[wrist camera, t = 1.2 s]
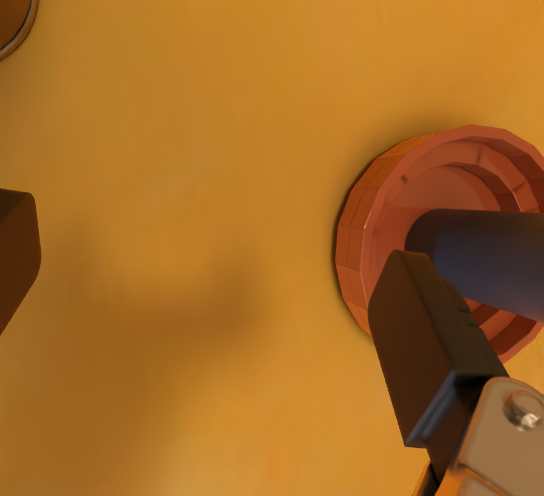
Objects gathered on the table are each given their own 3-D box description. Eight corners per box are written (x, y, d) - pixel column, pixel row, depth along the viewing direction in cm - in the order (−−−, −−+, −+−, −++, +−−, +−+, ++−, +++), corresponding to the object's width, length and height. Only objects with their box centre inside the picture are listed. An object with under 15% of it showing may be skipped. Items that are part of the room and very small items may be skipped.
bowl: (308, 163, 30) (336, 158, 25) (505, 114, 34) (558, 102, 29) (356, 382, 33) (388, 410, 28) (532, 314, 37) (583, 330, 32)
